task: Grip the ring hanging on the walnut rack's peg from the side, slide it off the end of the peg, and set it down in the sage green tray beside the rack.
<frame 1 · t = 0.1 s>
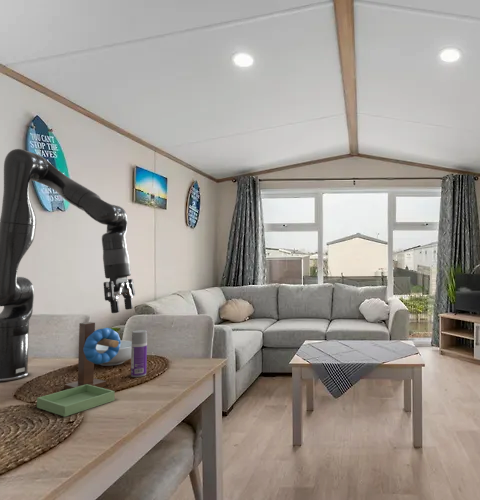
hand: (122, 311, 132), 22 cm above the table, tool pointing down, fingers open, 8 cm apart
cereal bowl: (112, 363, 149), on the table
tray: (76, 403, 108), on the table
container: (138, 375, 135), on the table
rack: (85, 387, 122), on the table
ring: (102, 345, 118), point 14 cm above the table, touching rack
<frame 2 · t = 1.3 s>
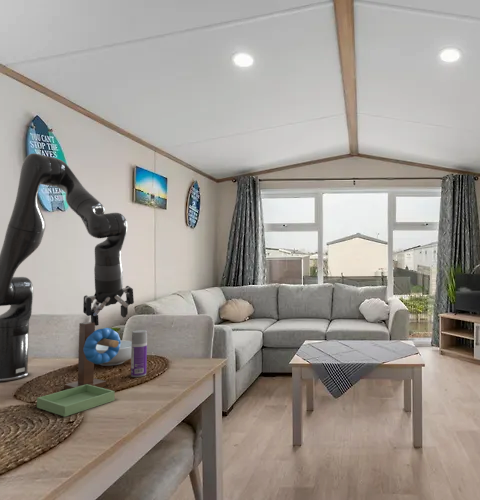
hand: (109, 320, 129), 20 cm above the table, tool tilted 20°, fingers open, 8 cm apart
nothing on the table moved.
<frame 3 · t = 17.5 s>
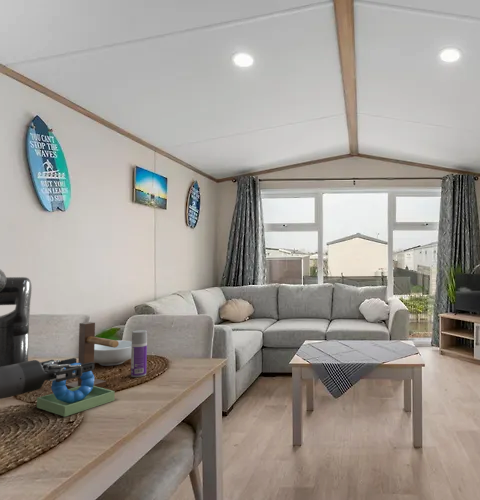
hand: (84, 363, 110), 11 cm above the table, tool horizontal, fingers open, 8 cm apart
ring: (73, 382, 109), point 6 cm above the table, tilted 17°, touching tray
everything else where it was.
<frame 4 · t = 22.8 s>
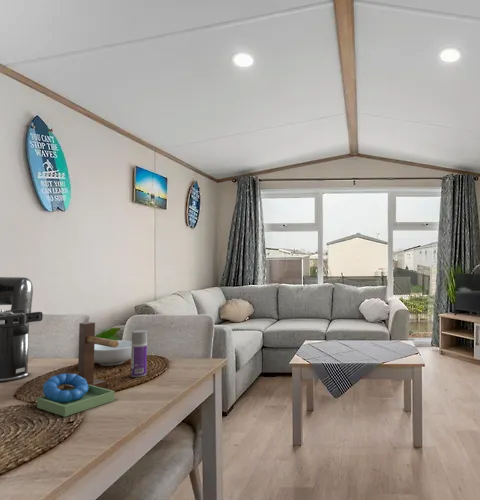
hand: (32, 314, 99), 26 cm above the table, tool horizontal, fingers open, 8 cm apart
ring: (66, 387, 111), point 4 cm above the table, tilted 64°, touching tray
everything else where it was.
at the end: ring inside the target area on the tray (4.9 cm from its centre), point 3.7 cm above the tray's base; ring touching tray; the gripper is holding nothing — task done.
